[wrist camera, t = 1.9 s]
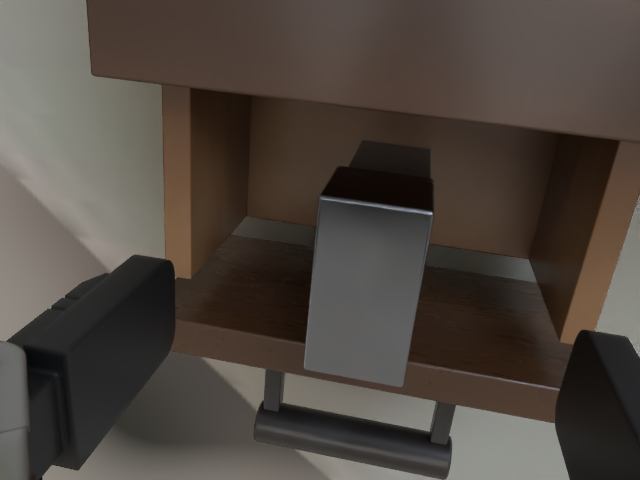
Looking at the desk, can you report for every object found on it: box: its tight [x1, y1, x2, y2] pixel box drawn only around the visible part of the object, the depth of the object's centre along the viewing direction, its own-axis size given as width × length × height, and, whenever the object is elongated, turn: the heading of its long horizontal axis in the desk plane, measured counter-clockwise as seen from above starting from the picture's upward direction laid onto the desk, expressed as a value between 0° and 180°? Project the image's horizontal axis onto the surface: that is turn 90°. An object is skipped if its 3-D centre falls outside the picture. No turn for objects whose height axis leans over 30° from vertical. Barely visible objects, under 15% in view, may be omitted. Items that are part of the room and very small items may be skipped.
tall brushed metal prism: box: [303, 140, 434, 387], centre depth 16 cm, size 4×2×8 cm, turn 175°
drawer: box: [162, 85, 640, 480], centre depth 18 cm, size 18×13×7 cm
